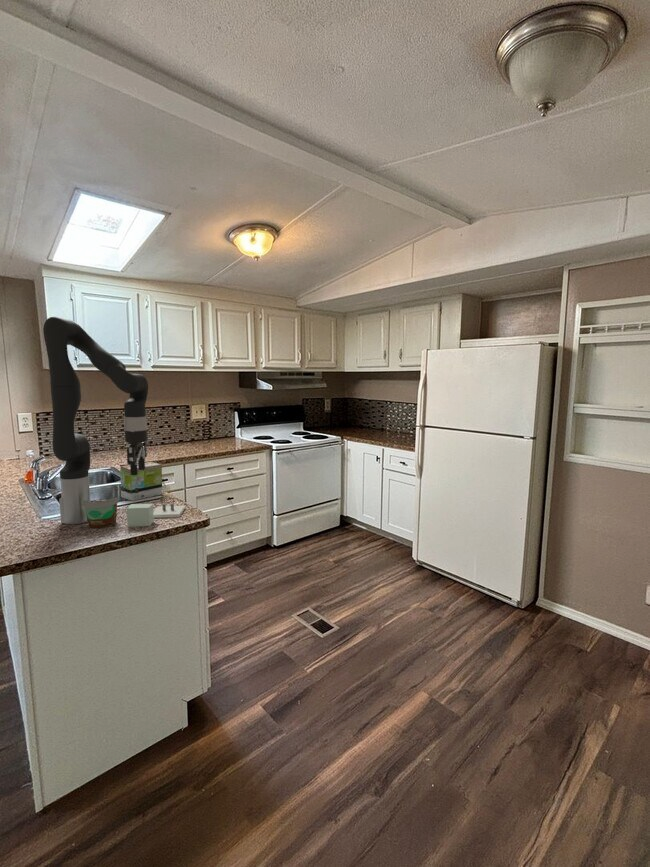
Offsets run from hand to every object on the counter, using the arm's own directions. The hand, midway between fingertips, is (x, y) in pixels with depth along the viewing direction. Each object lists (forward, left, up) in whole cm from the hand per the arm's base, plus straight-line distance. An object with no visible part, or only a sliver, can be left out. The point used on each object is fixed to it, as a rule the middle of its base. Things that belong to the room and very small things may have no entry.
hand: (138, 472), depth 152 cm
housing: (0, 0, -20) cm, 20 cm away
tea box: (-11, +38, -20) cm, 44 cm away
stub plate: (+7, +12, -20) cm, 24 cm away
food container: (-14, -1, -20) cm, 24 cm away
